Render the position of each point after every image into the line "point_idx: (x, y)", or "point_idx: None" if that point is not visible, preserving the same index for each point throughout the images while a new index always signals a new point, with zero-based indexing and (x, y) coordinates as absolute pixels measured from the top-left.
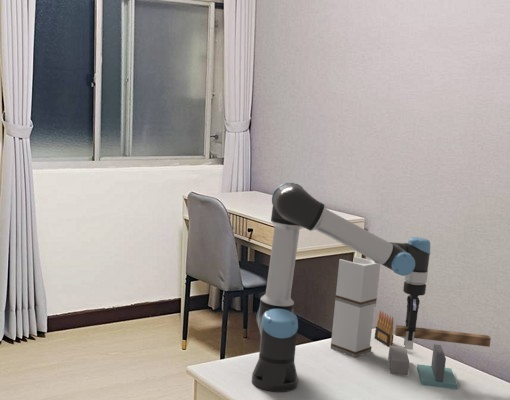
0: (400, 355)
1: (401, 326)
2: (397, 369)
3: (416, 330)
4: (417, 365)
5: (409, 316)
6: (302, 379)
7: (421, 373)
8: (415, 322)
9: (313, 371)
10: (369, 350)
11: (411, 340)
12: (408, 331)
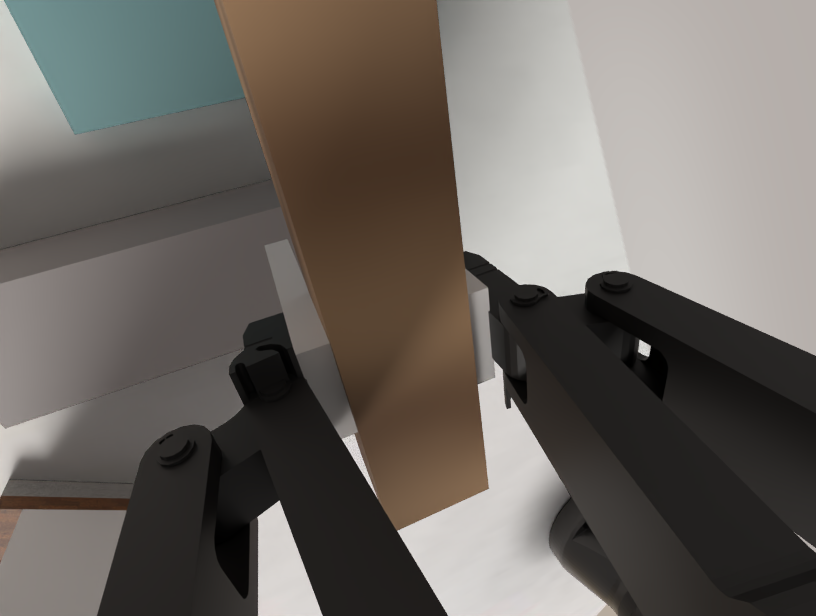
0: (213, 288)
1: (415, 474)
2: None
3: (459, 275)
4: (92, 130)
5: (798, 528)
6: (560, 483)
7: None
8: (778, 354)
9: (482, 498)
10: (30, 490)
11: (472, 258)
12: (491, 353)
